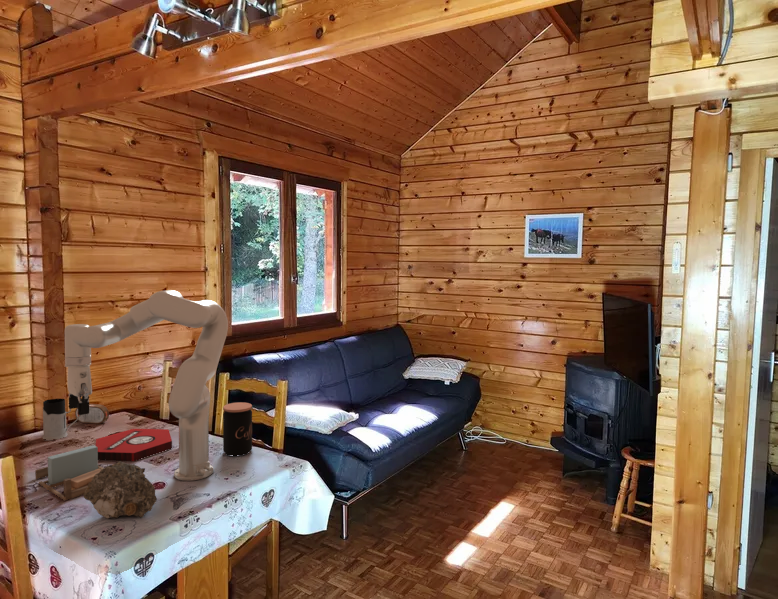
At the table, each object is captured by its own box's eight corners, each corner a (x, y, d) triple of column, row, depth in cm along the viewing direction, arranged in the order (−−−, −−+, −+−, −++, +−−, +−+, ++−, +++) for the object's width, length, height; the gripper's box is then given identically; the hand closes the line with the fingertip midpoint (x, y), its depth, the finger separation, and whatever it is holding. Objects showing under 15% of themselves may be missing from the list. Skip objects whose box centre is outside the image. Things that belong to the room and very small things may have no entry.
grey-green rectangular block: (98, 472, 174) (97, 447, 173) (52, 486, 162) (51, 459, 162) (93, 470, 175) (93, 445, 175) (48, 484, 164) (47, 457, 163)
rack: (124, 481, 167) (124, 463, 167) (64, 500, 152) (63, 481, 152) (90, 463, 181) (89, 446, 181) (32, 479, 167) (31, 462, 166)
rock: (100, 465, 137) (132, 437, 152) (72, 498, 141) (106, 467, 155) (153, 508, 139) (180, 476, 154) (124, 539, 142) (153, 505, 157)
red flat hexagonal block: (74, 460, 184) (155, 462, 184) (74, 451, 184) (155, 453, 183) (115, 436, 211) (186, 438, 210) (115, 428, 211) (186, 429, 210)
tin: (109, 422, 227) (109, 404, 227) (104, 425, 224) (104, 406, 224) (79, 421, 229) (78, 402, 229) (74, 423, 226) (73, 404, 226)
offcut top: (107, 477, 166) (107, 470, 166) (77, 489, 157) (77, 482, 157) (99, 474, 168) (98, 468, 168) (68, 486, 159) (68, 479, 159)
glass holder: (43, 435, 210) (42, 399, 209) (83, 430, 217) (82, 395, 216) (40, 441, 202) (39, 404, 201) (82, 436, 209) (81, 400, 208)
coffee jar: (236, 459, 187) (236, 411, 186) (217, 453, 193) (216, 406, 192) (258, 450, 196) (258, 405, 195) (238, 445, 202) (238, 400, 201)
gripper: (99, 363, 167) (100, 414, 168) (82, 356, 179) (83, 403, 180) (73, 366, 161) (74, 419, 162) (57, 358, 173) (58, 407, 174)
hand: (78, 411), depth 171 cm, fingers open, 9 cm apart
